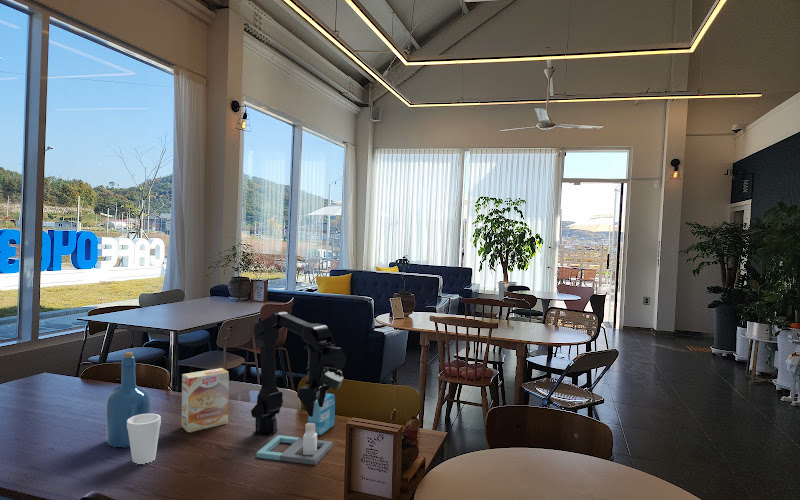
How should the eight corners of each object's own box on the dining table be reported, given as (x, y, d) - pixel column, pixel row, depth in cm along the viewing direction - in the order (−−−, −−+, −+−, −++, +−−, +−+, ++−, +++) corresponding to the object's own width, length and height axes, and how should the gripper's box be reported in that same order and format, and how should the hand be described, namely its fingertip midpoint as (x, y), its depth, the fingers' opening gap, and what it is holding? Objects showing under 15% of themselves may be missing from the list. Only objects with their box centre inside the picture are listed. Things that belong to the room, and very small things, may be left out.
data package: (318, 436, 189) (319, 402, 188) (307, 434, 190) (308, 401, 190) (334, 425, 200) (335, 393, 200) (324, 423, 202) (324, 391, 201)
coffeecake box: (188, 433, 190) (188, 378, 189) (180, 427, 195) (181, 373, 194) (229, 423, 200) (229, 371, 199) (221, 418, 205) (221, 367, 204)
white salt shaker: (315, 456, 173) (315, 426, 172) (302, 455, 173) (303, 426, 173) (317, 450, 177) (317, 422, 176) (305, 450, 177) (305, 422, 177)
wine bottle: (156, 441, 182) (157, 353, 181) (114, 453, 172) (114, 359, 171) (140, 430, 191) (140, 346, 190) (99, 440, 181) (99, 352, 180)
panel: (256, 457, 171) (256, 452, 171) (277, 439, 186) (277, 435, 186) (315, 464, 167) (315, 460, 166) (332, 446, 181) (332, 441, 181)
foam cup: (127, 469, 161) (127, 426, 161) (126, 457, 169) (126, 416, 169) (161, 463, 166) (161, 421, 165) (159, 451, 174) (159, 411, 173)
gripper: (331, 373, 165) (330, 424, 165) (349, 359, 183) (348, 404, 184) (297, 371, 167) (296, 420, 168) (318, 356, 185) (317, 401, 186)
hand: (316, 411), depth 176 cm, fingers open, 9 cm apart
